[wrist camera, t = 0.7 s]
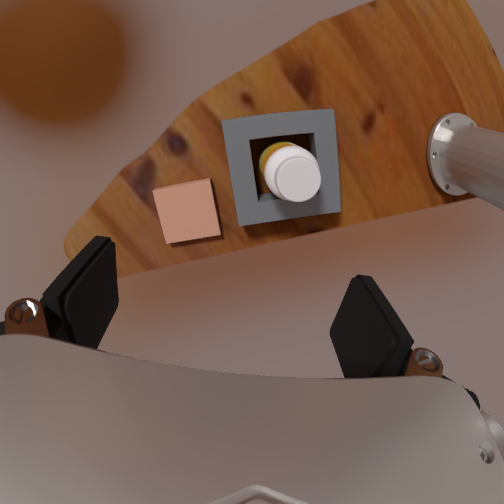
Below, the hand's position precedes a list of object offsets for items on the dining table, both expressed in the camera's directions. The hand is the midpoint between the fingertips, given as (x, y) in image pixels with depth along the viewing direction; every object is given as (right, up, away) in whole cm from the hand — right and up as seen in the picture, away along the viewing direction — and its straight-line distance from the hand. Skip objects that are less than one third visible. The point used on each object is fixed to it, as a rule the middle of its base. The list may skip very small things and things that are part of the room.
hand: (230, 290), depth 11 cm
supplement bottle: (+4, +12, +22) cm, 25 cm away
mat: (-7, +7, +24) cm, 26 cm away
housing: (+4, +12, +22) cm, 25 cm away
